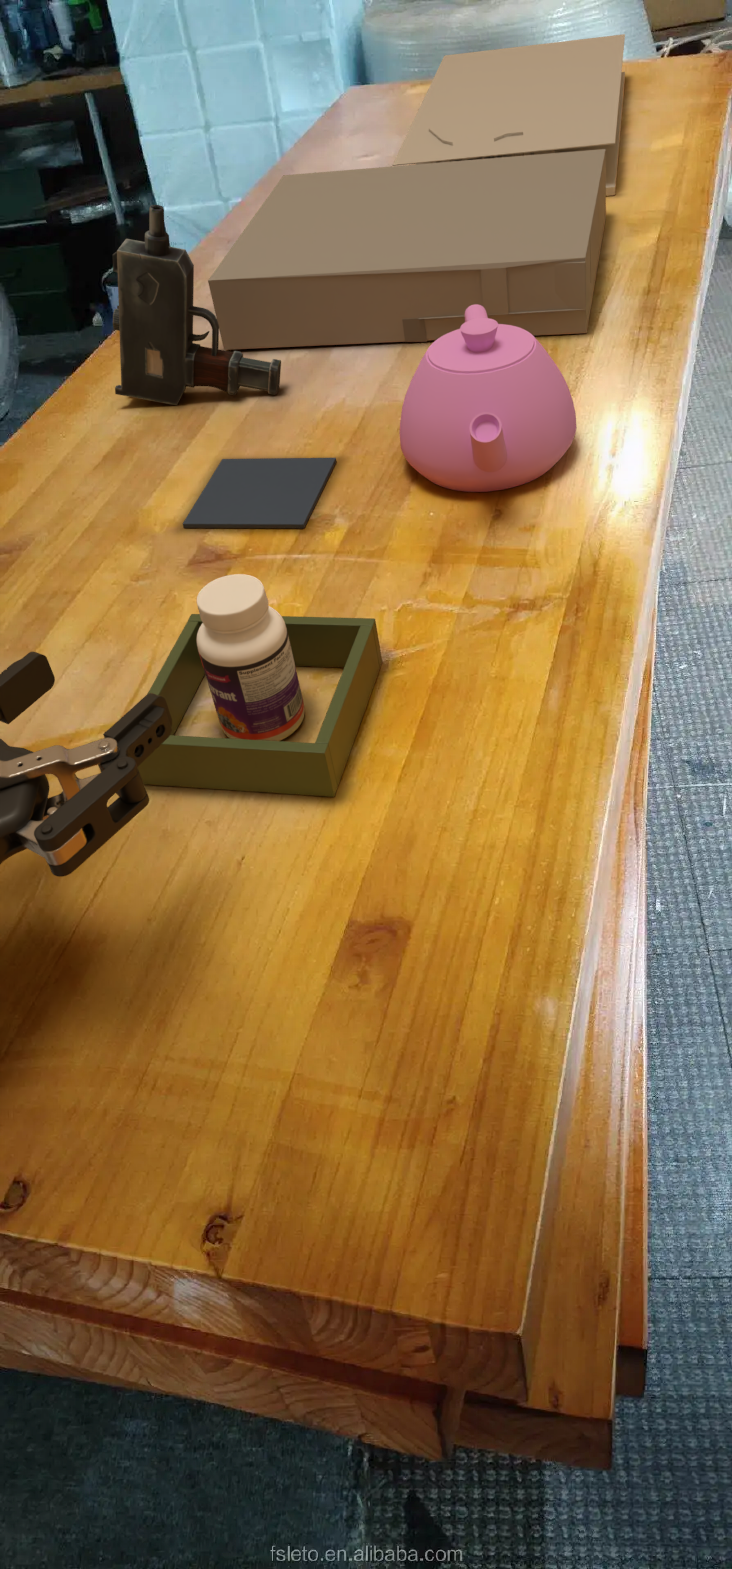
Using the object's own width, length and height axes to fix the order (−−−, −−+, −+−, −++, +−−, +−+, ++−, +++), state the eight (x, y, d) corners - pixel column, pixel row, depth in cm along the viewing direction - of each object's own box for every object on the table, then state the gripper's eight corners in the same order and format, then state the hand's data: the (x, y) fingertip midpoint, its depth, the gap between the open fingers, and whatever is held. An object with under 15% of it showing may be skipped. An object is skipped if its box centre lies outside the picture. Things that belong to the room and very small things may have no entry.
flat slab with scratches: (447, 97, 169) (444, 52, 165) (624, 78, 164) (625, 30, 160) (398, 214, 138) (392, 161, 134) (614, 194, 133) (614, 139, 129)
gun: (285, 236, 98) (106, 204, 98) (272, 423, 110) (113, 393, 110) (291, 224, 100) (115, 192, 100) (278, 409, 112) (121, 380, 112)
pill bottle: (209, 714, 77) (170, 588, 70) (284, 682, 78) (254, 555, 71) (241, 761, 73) (204, 633, 66) (320, 726, 74) (291, 597, 68)
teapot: (402, 537, 88) (383, 403, 81) (403, 411, 103) (387, 287, 95) (592, 517, 87) (589, 377, 79) (565, 391, 101) (561, 263, 94)
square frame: (136, 784, 73) (120, 741, 70) (203, 655, 81) (191, 613, 79) (334, 797, 69) (324, 753, 67) (382, 661, 78) (375, 617, 76)
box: (606, 216, 128) (605, 145, 123) (586, 333, 108) (585, 254, 104) (294, 240, 137) (282, 175, 132) (223, 353, 117) (206, 281, 112)
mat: (183, 528, 94) (182, 523, 94) (223, 462, 101) (222, 458, 100) (304, 528, 91) (303, 524, 91) (336, 461, 98) (336, 457, 98)
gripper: (-71, 898, 47) (188, 662, 56) (-275, 791, 54) (-15, 596, 63) (-4, 1010, 52) (224, 777, 61) (-198, 899, 59) (32, 705, 68)
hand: (102, 685), depth 62 cm, fingers open, 8 cm apart
